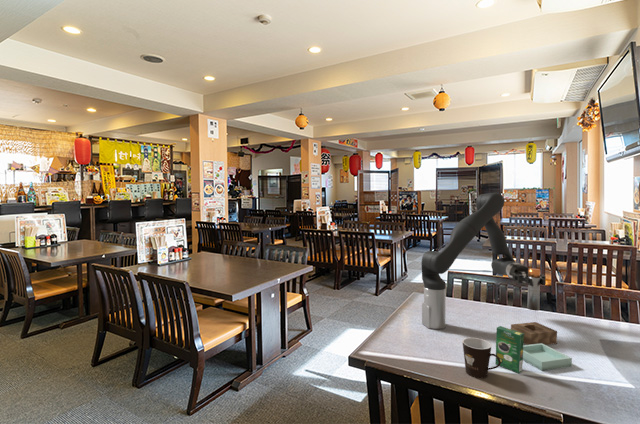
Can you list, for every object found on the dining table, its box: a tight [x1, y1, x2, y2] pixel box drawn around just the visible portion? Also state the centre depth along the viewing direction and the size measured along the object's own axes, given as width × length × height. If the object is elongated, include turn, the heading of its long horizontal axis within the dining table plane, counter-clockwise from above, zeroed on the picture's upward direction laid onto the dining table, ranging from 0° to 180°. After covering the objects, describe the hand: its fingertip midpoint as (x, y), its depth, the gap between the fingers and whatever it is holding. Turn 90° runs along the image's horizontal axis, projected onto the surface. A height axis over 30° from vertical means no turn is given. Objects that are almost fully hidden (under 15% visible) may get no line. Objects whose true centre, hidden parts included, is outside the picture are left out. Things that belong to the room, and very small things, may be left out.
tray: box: [523, 343, 573, 372], centre depth 119 cm, size 12×12×3 cm
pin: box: [526, 267, 541, 312], centre depth 135 cm, size 4×4×16 cm
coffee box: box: [495, 325, 524, 374], centre depth 114 cm, size 8×3×13 cm, turn 35°
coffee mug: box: [462, 337, 501, 379], centre depth 109 cm, size 12×9×10 cm
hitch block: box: [510, 321, 558, 346], centre depth 136 cm, size 12×10×5 cm
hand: (537, 282), depth 132 cm, fingers closed on pin, 4 cm apart
